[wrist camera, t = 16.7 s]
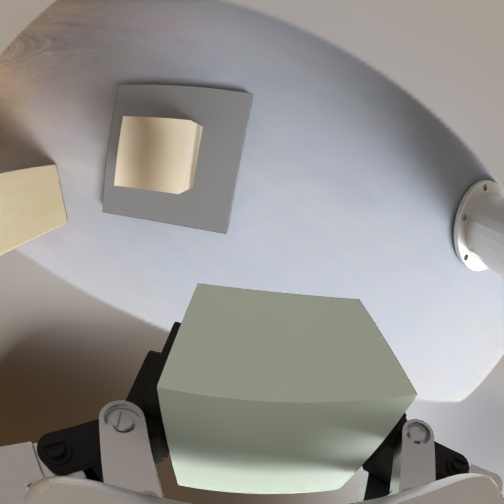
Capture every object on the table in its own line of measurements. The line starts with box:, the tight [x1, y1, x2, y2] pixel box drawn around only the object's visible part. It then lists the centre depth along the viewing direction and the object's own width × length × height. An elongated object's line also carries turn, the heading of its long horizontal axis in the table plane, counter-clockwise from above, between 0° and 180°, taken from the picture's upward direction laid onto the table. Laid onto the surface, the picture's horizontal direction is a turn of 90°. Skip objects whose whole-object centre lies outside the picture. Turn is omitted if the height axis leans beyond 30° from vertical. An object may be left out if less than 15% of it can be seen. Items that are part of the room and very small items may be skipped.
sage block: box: [157, 283, 417, 494], centre depth 8 cm, size 6×6×5 cm
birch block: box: [114, 116, 203, 194], centre depth 23 cm, size 6×6×5 cm
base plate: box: [103, 85, 253, 234], centre depth 26 cm, size 14×14×2 cm
